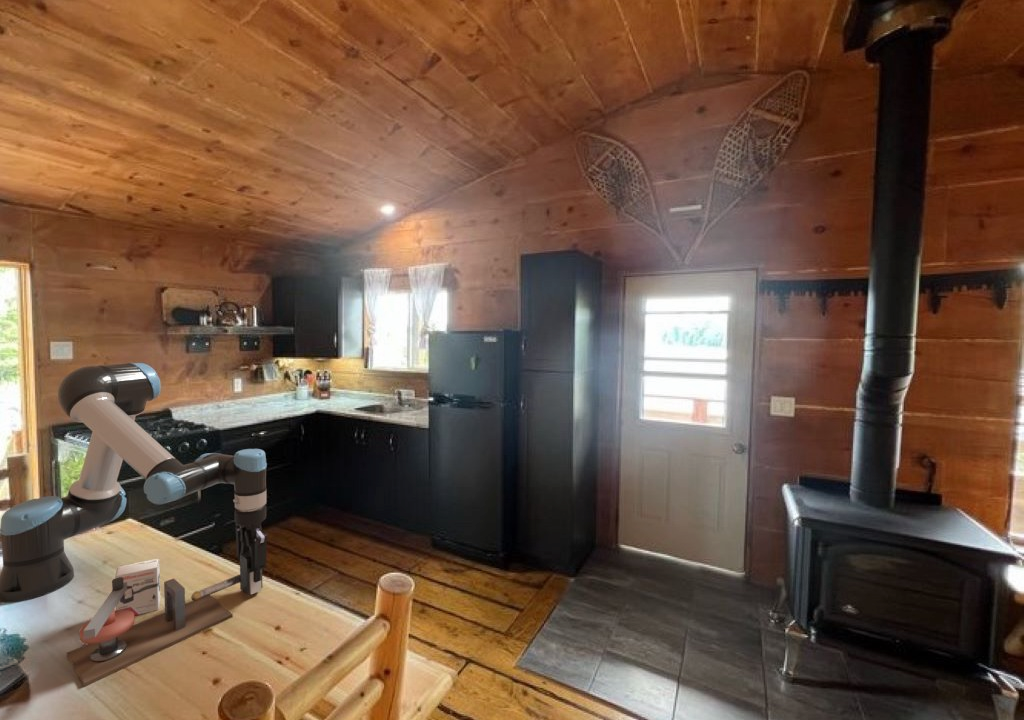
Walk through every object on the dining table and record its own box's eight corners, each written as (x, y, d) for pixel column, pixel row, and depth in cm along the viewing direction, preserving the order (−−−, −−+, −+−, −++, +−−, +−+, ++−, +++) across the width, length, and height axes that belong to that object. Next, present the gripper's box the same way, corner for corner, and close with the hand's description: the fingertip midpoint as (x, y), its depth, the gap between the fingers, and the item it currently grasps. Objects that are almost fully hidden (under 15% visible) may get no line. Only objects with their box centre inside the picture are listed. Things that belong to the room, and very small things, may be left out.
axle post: (87, 654, 100) (86, 632, 100) (121, 639, 105) (121, 618, 105) (94, 666, 97) (93, 644, 96) (130, 650, 101) (129, 629, 101)
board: (67, 656, 100) (66, 652, 100) (208, 596, 123) (208, 593, 123) (84, 686, 92) (84, 682, 92) (232, 616, 115) (232, 613, 115)
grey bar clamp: (188, 611, 115) (187, 573, 114) (255, 582, 128) (254, 548, 127) (195, 617, 113) (194, 579, 112) (262, 587, 126) (262, 553, 125)
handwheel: (61, 663, 90) (59, 624, 90) (98, 610, 107) (97, 577, 106) (118, 650, 94) (117, 614, 93) (146, 601, 110) (145, 570, 110)
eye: (165, 619, 112) (164, 581, 111) (174, 615, 114) (173, 578, 113) (175, 631, 108) (174, 591, 107) (185, 626, 110) (184, 588, 109)
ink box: (115, 621, 112) (113, 575, 111) (119, 610, 116) (117, 566, 116) (159, 610, 117) (157, 566, 116) (160, 600, 121) (159, 557, 120)
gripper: (221, 502, 126) (222, 583, 127) (251, 519, 116) (252, 607, 118) (249, 495, 132) (250, 572, 133) (280, 510, 122) (280, 593, 124)
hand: (251, 588), depth 125 cm, fingers closed on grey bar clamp, 4 cm apart
